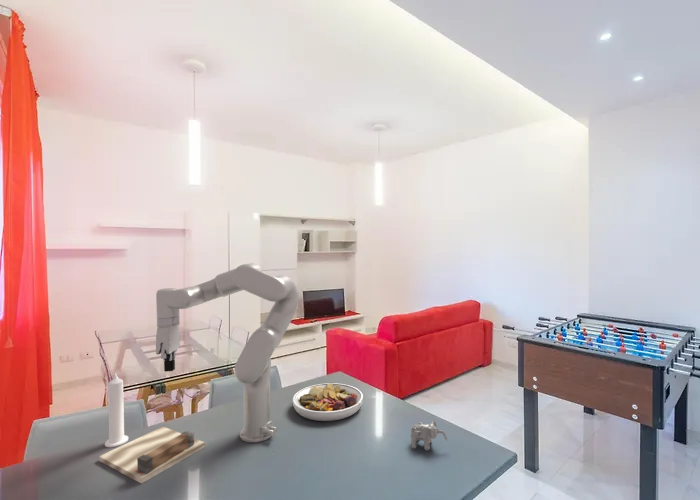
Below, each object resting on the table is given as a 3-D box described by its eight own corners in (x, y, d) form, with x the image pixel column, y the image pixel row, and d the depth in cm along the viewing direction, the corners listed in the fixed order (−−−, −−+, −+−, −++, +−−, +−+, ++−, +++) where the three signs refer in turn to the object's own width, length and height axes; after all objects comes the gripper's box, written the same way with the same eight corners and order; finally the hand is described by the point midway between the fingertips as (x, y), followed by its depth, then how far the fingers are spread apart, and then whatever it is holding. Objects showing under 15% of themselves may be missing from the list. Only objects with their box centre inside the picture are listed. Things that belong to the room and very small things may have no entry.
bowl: (278, 412, 149) (277, 393, 149) (323, 388, 174) (322, 372, 174) (334, 432, 132) (334, 411, 132) (376, 403, 157) (375, 385, 157)
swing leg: (188, 439, 125) (187, 428, 125) (197, 442, 123) (197, 431, 123) (137, 470, 108) (136, 457, 108) (146, 473, 106) (146, 461, 106)
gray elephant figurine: (409, 439, 127) (408, 417, 127) (443, 437, 126) (442, 416, 126) (412, 454, 117) (411, 431, 117) (449, 453, 117) (447, 429, 117)
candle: (116, 448, 123) (115, 376, 123) (99, 446, 125) (98, 375, 125) (133, 437, 130) (131, 369, 130) (116, 436, 131) (115, 368, 131)
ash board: (205, 446, 123) (205, 442, 123) (141, 483, 104) (141, 478, 104) (163, 430, 135) (163, 426, 135) (99, 460, 116) (99, 456, 116)
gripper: (167, 318, 140) (168, 364, 140) (147, 326, 125) (149, 378, 125) (186, 317, 140) (188, 363, 140) (169, 325, 125) (170, 377, 125)
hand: (169, 370), depth 133 cm, fingers closed
